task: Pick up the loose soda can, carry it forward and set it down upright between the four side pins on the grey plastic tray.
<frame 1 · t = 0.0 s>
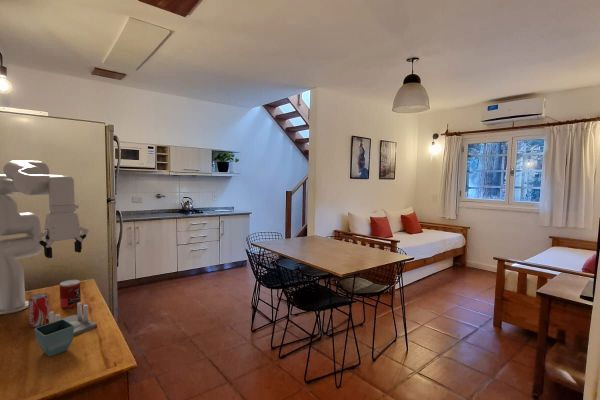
hand: (63, 254, 118), 31 cm above the table, fingers open, 9 cm apart
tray: (68, 328, 126), on the table
soda can: (39, 324, 128), on the table
canned food: (70, 305, 147), on the table
flower pot: (55, 352, 110), on the table
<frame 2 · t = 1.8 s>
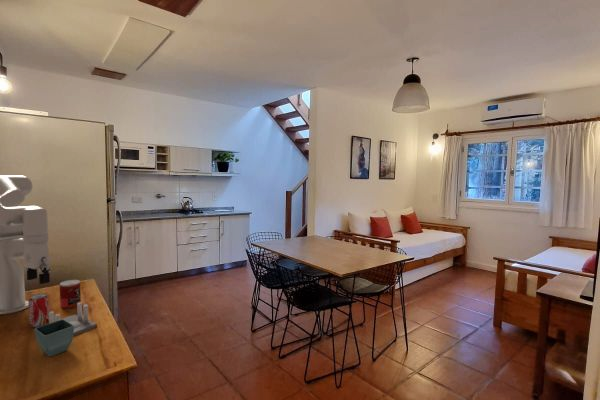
hand: (38, 281, 126), 18 cm above the table, fingers open, 9 cm apart
nothing on the table moved.
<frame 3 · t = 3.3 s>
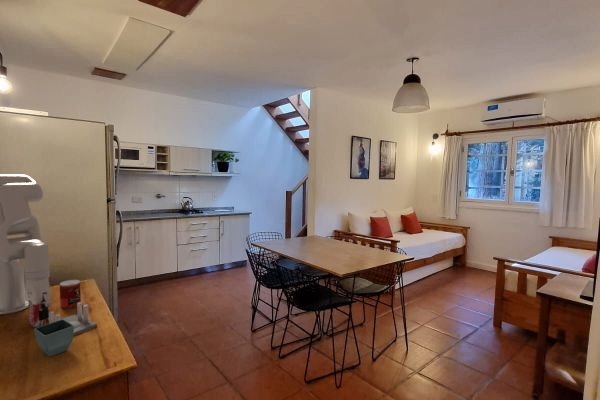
hand: (39, 316, 128), 3 cm above the table, fingers closed on soda can, 6 cm apart
soda can: (39, 324, 128), on the table, touching gripper
everything else where it was.
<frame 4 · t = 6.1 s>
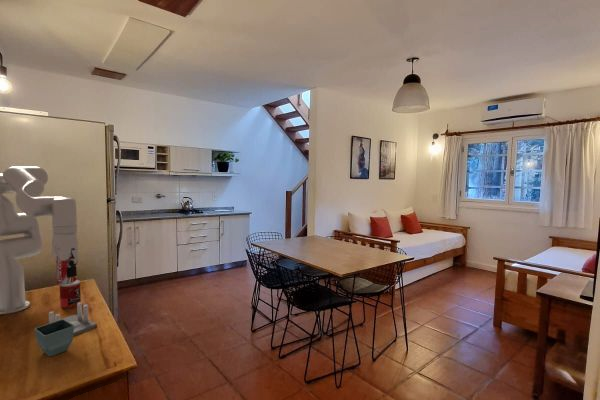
hand: (66, 274, 124), 22 cm above the table, fingers closed on soda can, 6 cm apart
soda can: (66, 283, 124), point 19 cm above the table, touching gripper
everything else where it was.
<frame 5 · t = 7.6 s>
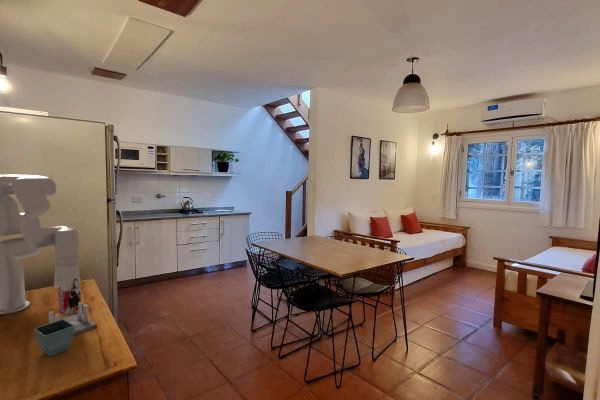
hand: (69, 304, 124), 10 cm above the table, fingers closed on soda can, 6 cm apart
soda can: (69, 312, 125), point 7 cm above the table, touching gripper
everything else where it was.
when the fingers open (6 cm above the table, at t = 8.7 s): soda can drops 1 cm, resting on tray.
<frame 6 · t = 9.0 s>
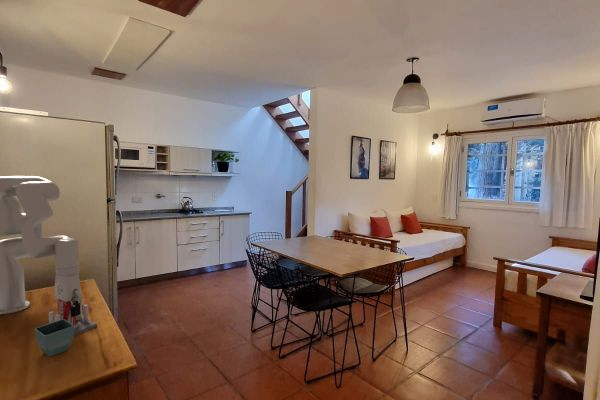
hand: (69, 312, 125), 7 cm above the table, fingers open, 9 cm apart
soda can: (68, 325, 125), point 1 cm above the table, touching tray
everything else where it was.
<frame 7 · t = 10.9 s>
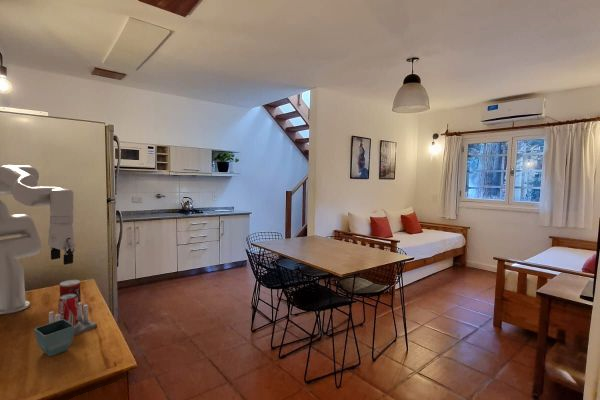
hand: (61, 261, 128), 26 cm above the table, fingers open, 9 cm apart
nothing on the table moved.
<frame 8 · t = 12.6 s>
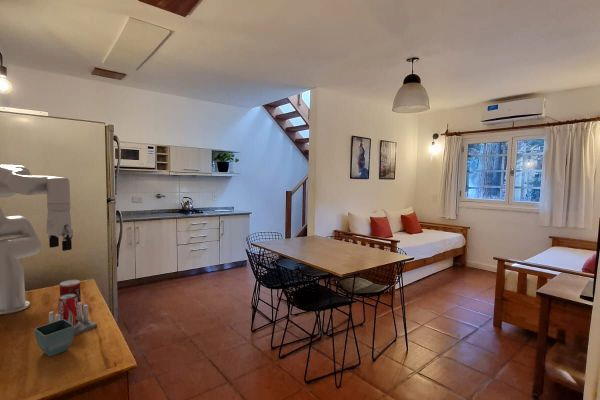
hand: (60, 248, 130), 30 cm above the table, fingers open, 9 cm apart
nothing on the table moved.
at the end: soda can 0.4 cm from the target spot on the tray, point 1.2 cm above the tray's base; soda can tilted 1°; the gripper is holding nothing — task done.
